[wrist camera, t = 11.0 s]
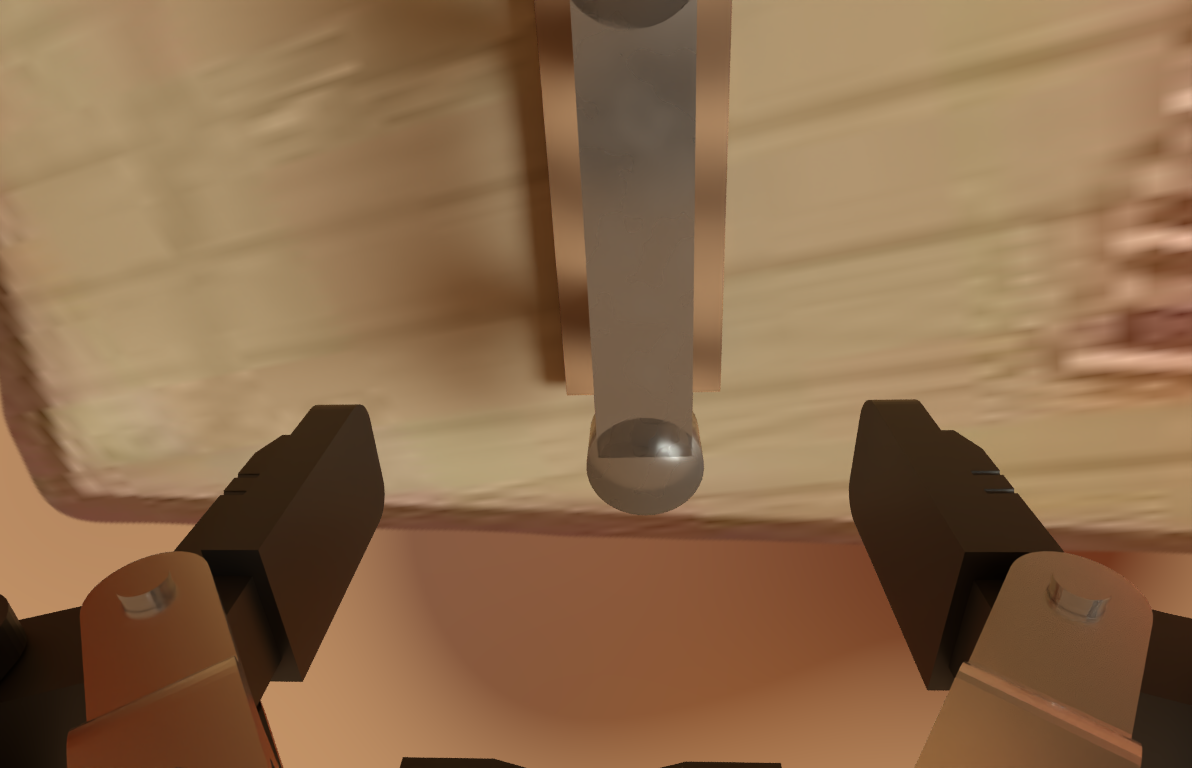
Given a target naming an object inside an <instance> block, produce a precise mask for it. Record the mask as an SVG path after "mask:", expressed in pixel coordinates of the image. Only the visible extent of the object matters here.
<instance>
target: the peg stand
mask: <svg viewBox="0 0 1192 768" xmlns="http://www.w3.org/2000/svg"><path fill="white" fill-rule="evenodd" d="M534 5H535V17H536V29H537V41H538V53H539V65H540V77H541V89H542V101H543V113H544V125H545V137H546V149H547V161H548V173H549V185H550V197H551V209H552V221H553V233H554V245H555V257H556V269H557V281H558V293H559V305H560V317H561V329H562V341H563V354H564V366H565V378H566V390H567V395H594V386H593V370H592V354H591V337H590V321H589V305H588V289H587V272H586V256H585V240H584V224H583V207H582V191H581V175H580V158H579V142H578V126H577V110H576V93H575V77H574V61H573V44H572V28H571V12H570V0H534ZM731 15H732V0H697V50H696V139H695V227H694V316H693V392H717V391H720V383H721V350H722V316H723V283H724V249H725V216H726V182H727V149H728V116H729V82H730V49H731Z"/></svg>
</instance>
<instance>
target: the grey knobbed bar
mask: <svg viewBox="0 0 1192 768" xmlns="http://www.w3.org/2000/svg"><path fill="white" fill-rule="evenodd" d="M570 12H571V28H572V44H573V61H574V77H575V93H576V110H577V126H578V142H579V158H580V175H581V191H582V207H583V224H584V240H585V256H586V272H587V289H588V305H589V321H590V337H591V354H592V370H593V386H594V403H595V414H594V416H593V419H592V422H591V428H590V437H589V447H588V456H587V475H588V478H589V482H590V484H591V486H592V488H593V489H594V491H595V492H596V494H597V495H598V496H599V497H600V498H601V499H602V500H603V501H605V502H606V503H607V504H609V505H610V506H612V507H614V508H616V509H618V510H620V511H623V512H626V513H630V514H636V515H655V514H661V513H664V512H668V511H670V510H673V509H675V508H677V507H679V506H680V505H682V504H683V503H685V502H686V501H687V500H688V499H689V498H690V497H691V496H692V495H693V494H694V493H695V492H696V490H697V488H698V487H699V485H700V483H701V480H702V477H703V471H704V461H703V455H702V448H701V442H700V435H699V429H698V423H697V419H696V417H695V414H694V413H693V411H692V404H693V316H694V227H695V139H696V50H697V0H570Z"/></svg>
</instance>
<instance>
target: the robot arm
mask: <svg viewBox="0 0 1192 768" xmlns="http://www.w3.org/2000/svg"><path fill="white" fill-rule="evenodd" d="M999 472H1000V470H999V469H998V468H997V467H996V465H995V464H994V463H993V462H992V460H991V459H990V458H989V457H988V455H987V454H986V453H985V451H984V450H983V449H982V448H980V447H979V446H977V445H976V444H974V443H973V442H971V441H970V440H968V439H966V438H965V437H963V436H962V435H960V434H959V433H957V432H956V431H954V430H940V428H939V427H938V426H937V424H936V423H935V421H934V420H933V419H932V417H931V416H930V415H929V413H928V412H927V411H926V409H925V408H924V406H923V405H922V404H921V403H920V401H918V400H915V399H913V400H867V401H866V402H865V403H864V405H863V407H862V410H861V414H860V420H859V426H858V432H857V438H856V445H855V451H854V457H853V463H852V469H851V475H850V483H849V500H850V508H851V513H852V517H853V520H854V522H855V525H856V527H857V529H858V532H859V534H860V536H861V539H862V541H863V543H864V546H865V548H866V550H867V552H868V554H869V557H870V559H871V562H872V564H873V566H874V569H875V571H876V573H877V575H878V578H879V580H880V582H881V585H882V587H883V589H884V592H885V594H886V596H887V599H888V601H889V603H890V605H891V608H892V610H893V612H894V615H895V617H896V619H897V622H898V624H899V626H900V628H901V630H902V633H903V635H904V638H905V640H906V642H907V644H908V647H909V649H910V651H911V654H912V656H913V658H914V661H915V663H916V665H917V667H918V670H919V672H920V674H921V677H922V679H923V681H924V684H925V686H926V688H927V690H949V693H948V695H947V697H946V699H945V701H944V704H943V706H942V708H941V710H940V713H939V715H938V717H937V719H936V721H935V723H934V726H933V728H932V730H931V732H930V735H929V737H928V739H927V741H926V743H925V746H924V748H923V750H922V752H921V754H920V757H919V759H918V761H917V764H916V766H915V768H1192V619H1191V618H1186V617H1182V616H1177V615H1172V614H1168V613H1164V612H1160V611H1156V610H1152V609H1151V606H1150V605H1149V603H1148V601H1147V599H1146V598H1145V596H1144V595H1143V594H1142V593H1141V592H1140V591H1139V590H1138V589H1137V588H1136V587H1135V586H1134V585H1133V584H1132V583H1131V582H1130V581H1128V580H1127V579H1126V578H1124V577H1123V576H1121V575H1120V574H1118V573H1117V572H1115V571H1113V570H1112V569H1109V568H1107V567H1106V566H1104V565H1101V564H1100V563H1097V562H1095V561H1092V560H1090V559H1087V558H1083V557H1080V556H1077V555H1073V554H1068V553H1064V551H1063V550H1062V549H1061V547H1060V546H1059V545H1058V544H1057V542H1056V541H1055V540H1054V539H1053V537H1052V536H1051V535H1050V534H1049V532H1048V531H1047V530H1046V529H1045V527H1044V526H1043V525H1042V523H1041V522H1040V521H1039V520H1038V518H1037V517H1036V516H1035V515H1034V513H1033V512H1032V511H1031V510H1030V508H1029V507H1028V506H1027V505H1026V503H1025V502H1024V501H1023V499H1022V498H1021V497H1020V496H1019V494H1018V493H1014V488H1013V487H1012V486H1011V484H1010V483H1009V482H1008V481H1007V479H1006V478H1005V477H1004V475H1000V473H999ZM384 495H385V493H384V482H383V477H382V472H381V468H380V463H379V459H378V454H377V449H376V445H375V440H374V435H373V431H372V426H371V422H370V417H369V414H368V412H367V410H366V408H365V407H364V406H363V405H315V406H313V407H312V408H311V409H310V411H309V412H308V413H307V414H306V416H305V417H304V418H303V420H302V421H301V422H300V423H299V425H298V426H297V427H296V428H295V430H294V431H293V432H292V434H291V435H282V436H280V437H279V438H277V439H276V440H274V441H273V442H271V443H270V444H268V445H267V446H265V447H263V448H262V449H260V450H259V451H257V452H256V453H255V454H254V455H253V456H252V457H251V459H250V460H249V461H248V462H247V463H246V465H245V466H244V467H243V468H242V469H241V471H240V472H239V473H238V478H234V479H233V480H232V482H231V483H230V484H229V485H228V486H227V488H226V489H225V490H224V495H220V496H219V497H218V498H217V500H216V501H215V502H214V503H213V504H212V506H211V507H210V508H209V509H208V510H207V512H206V513H205V514H204V515H203V517H202V518H201V519H200V520H199V521H198V523H197V524H196V525H195V526H194V527H193V529H192V530H191V531H190V532H189V533H188V535H187V536H186V537H185V538H184V540H183V541H182V542H181V543H180V544H179V545H178V547H177V548H176V549H175V551H174V552H165V553H160V554H155V555H151V556H148V557H145V558H142V559H139V560H137V561H134V562H132V563H130V564H128V565H126V566H124V567H122V568H120V569H118V570H117V571H115V572H113V573H112V574H110V575H109V576H108V577H106V578H105V579H104V580H102V581H101V582H100V583H99V584H98V585H97V586H96V587H94V588H93V590H92V591H91V592H90V593H89V594H88V596H87V597H86V599H85V600H84V602H83V604H82V606H80V607H76V608H72V609H67V610H62V611H58V612H53V613H49V614H44V615H40V616H35V617H31V618H26V619H22V620H18V618H17V617H16V615H15V613H14V611H13V610H12V608H11V606H10V605H9V603H8V601H7V599H6V598H5V597H4V596H2V595H0V768H283V765H282V762H281V759H280V756H279V753H278V750H277V747H276V744H275V741H274V738H273V734H272V731H271V728H270V725H269V722H268V719H267V716H266V713H265V710H264V708H263V705H262V703H261V698H262V696H263V694H264V692H265V690H266V688H267V686H268V684H269V682H270V681H284V682H285V681H286V682H288V681H289V682H290V681H291V682H293V681H294V682H303V680H304V678H305V676H306V674H307V672H308V670H309V667H310V665H311V663H312V661H313V659H314V657H315V655H316V653H317V651H318V649H319V647H320V645H321V642H322V640H323V638H324V636H325V634H326V632H327V630H328V628H329V626H330V624H331V622H332V619H333V617H334V615H335V613H336V611H337V609H338V607H339V605H340V603H341V601H342V599H343V597H344V595H345V592H346V590H347V588H348V586H349V584H350V582H351V580H352V578H353V576H354V574H355V571H356V569H357V567H358V565H359V563H360V561H361V559H362V557H363V555H364V553H365V551H366V549H367V547H368V544H369V542H370V540H371V538H372V536H373V534H374V532H375V530H376V528H377V526H378V524H379V522H380V519H381V516H382V512H383V507H384ZM400 768H524V767H521V766H518V765H514V764H510V763H507V762H503V761H500V760H496V759H474V758H471V759H470V758H408V757H403V759H402V762H401V766H400ZM662 768H782V767H781V763H736V762H683V763H679V764H675V765H670V766H666V767H662Z"/></svg>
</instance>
